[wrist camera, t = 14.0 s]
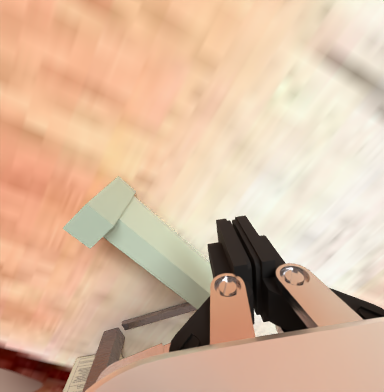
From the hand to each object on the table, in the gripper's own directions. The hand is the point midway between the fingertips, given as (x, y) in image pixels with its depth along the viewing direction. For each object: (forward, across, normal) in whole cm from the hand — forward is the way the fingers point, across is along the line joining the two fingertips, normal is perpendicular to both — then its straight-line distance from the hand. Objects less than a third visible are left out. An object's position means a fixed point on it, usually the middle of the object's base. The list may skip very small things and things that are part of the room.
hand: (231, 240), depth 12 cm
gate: (+9, +5, +4) cm, 11 cm away
